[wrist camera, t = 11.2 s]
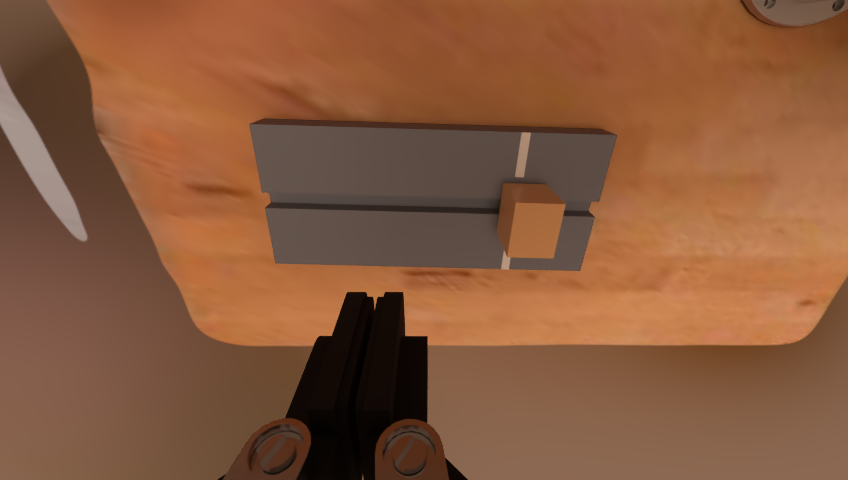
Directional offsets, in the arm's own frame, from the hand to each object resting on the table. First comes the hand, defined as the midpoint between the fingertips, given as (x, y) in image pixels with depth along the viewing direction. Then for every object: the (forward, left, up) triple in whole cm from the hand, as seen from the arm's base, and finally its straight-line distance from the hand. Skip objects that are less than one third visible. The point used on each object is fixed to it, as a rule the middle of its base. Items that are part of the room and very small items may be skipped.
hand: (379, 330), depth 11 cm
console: (-2, +5, -26) cm, 27 cm away
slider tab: (-11, +5, -25) cm, 27 cm away
